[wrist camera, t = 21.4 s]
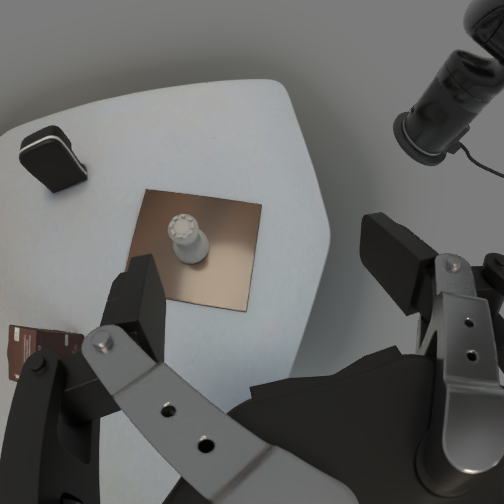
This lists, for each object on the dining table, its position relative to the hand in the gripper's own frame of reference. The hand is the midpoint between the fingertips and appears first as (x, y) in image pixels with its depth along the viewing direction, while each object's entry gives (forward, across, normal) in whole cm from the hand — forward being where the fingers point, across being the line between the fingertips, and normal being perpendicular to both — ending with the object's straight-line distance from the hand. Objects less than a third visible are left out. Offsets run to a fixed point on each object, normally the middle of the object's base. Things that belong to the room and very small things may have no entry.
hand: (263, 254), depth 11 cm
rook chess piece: (+25, +5, +12) cm, 28 cm away
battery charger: (+36, +23, +2) cm, 43 cm away
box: (+17, +24, +21) cm, 36 cm away
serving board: (+25, +5, +13) cm, 28 cm away
